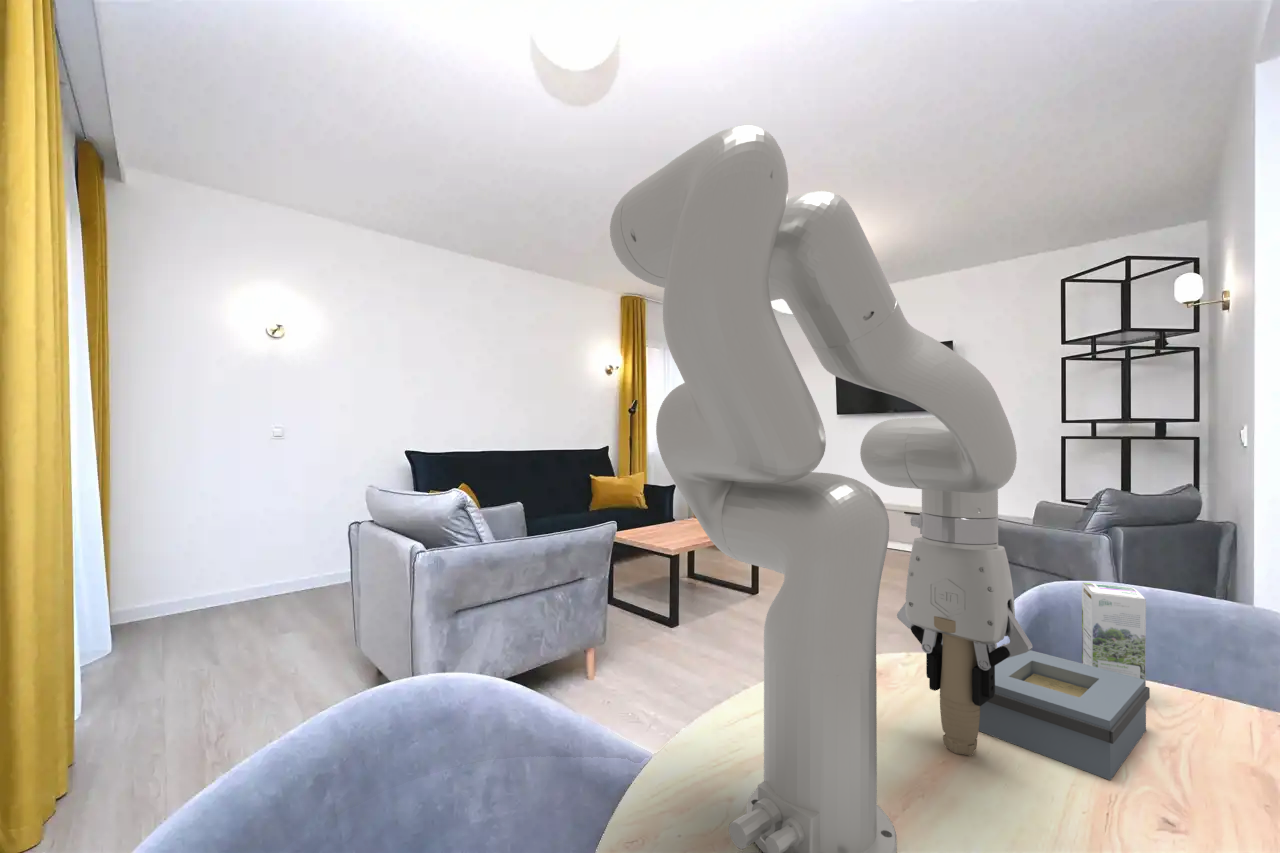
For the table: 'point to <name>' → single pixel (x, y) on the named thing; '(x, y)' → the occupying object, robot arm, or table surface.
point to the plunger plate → (1056, 685)
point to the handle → (957, 691)
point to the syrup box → (1114, 629)
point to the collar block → (1067, 712)
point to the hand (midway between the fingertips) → (959, 692)
